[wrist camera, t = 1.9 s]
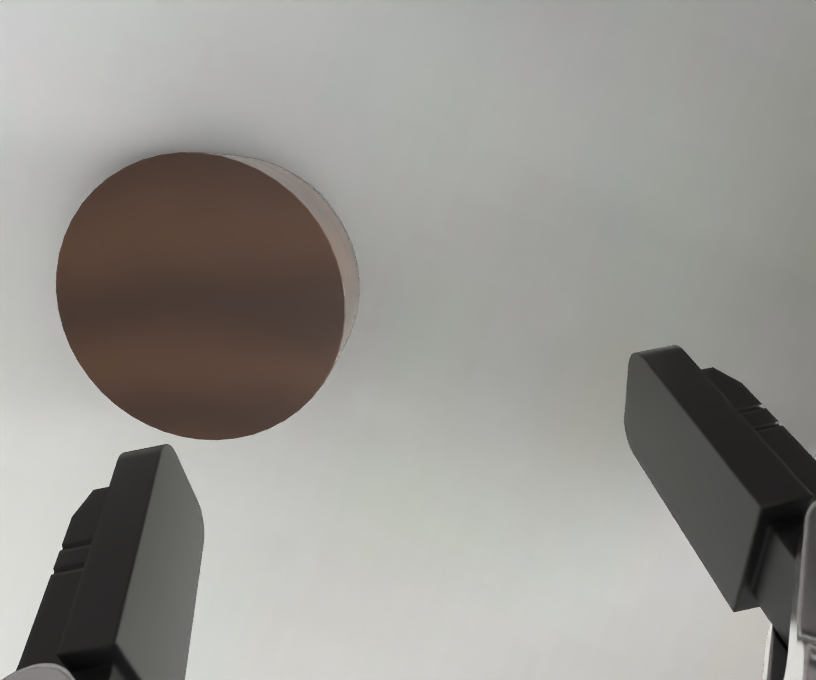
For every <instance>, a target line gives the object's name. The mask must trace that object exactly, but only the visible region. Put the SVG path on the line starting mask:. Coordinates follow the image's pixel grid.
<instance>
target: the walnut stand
mask: <svg viewBox="0 0 816 680" xmlns="http://www.w3.org/2000/svg"><path fill="white" fill-rule="evenodd" d="M56 293H57V302H58V310H59V314H60V318H61V322H62V326H63V329H64V332H65V335H66V337H67V340H68V342H69V345H70V347H71V349H72V351H73V353H74V355H75V356H76V358H77V360H78V362H79V364H80V365H81V367H82V368H83V369H84V371H85V372H86V374H87V375H88V377H89V378H90V379H91V380H92V382H93V383H94V384H95V385H96V386H97V387H98V388H99V389H100V391H101V392H102V393H103V394H104V395H106V396H107V397H108V398H109V399H110V400H111V401H112V402H113V403H114V404H116V405H117V406H118V407H120V408H121V409H122V410H124V411H125V412H127V413H128V414H129V415H131V416H133V417H134V418H136V419H138V420H140V421H142V422H143V423H145V424H147V425H149V426H152V427H154V428H157V429H159V430H161V431H164V432H167V433H171V434H174V435H178V436H182V437H188V438H194V439H203V440H223V439H234V438H239V437H244V436H248V435H253V434H256V433H258V432H261V431H264V430H267V429H269V428H271V427H273V426H275V425H277V424H279V423H281V422H283V421H285V420H286V419H287V418H289V417H290V416H292V415H293V414H294V413H296V412H297V411H299V410H300V409H301V408H302V407H303V406H304V405H305V404H306V403H307V402H308V401H309V400H310V399H311V398H312V397H313V396H314V395H315V394H316V392H317V391H318V390H319V389H320V387H321V386H322V385H323V383H324V382H325V380H326V378H327V376H328V375H329V373H330V371H331V370H332V368H333V366H334V364H335V362H336V360H337V358H338V357H339V355H340V353H341V351H342V349H343V347H344V345H345V343H346V341H347V339H348V337H349V334H350V332H351V330H352V327H353V324H354V321H355V317H356V313H357V308H358V301H359V274H358V267H357V261H356V257H355V254H354V250H353V246H352V244H351V242H350V239H349V237H348V234H347V232H346V230H345V228H344V226H343V225H342V223H341V221H340V219H339V218H338V216H337V215H336V213H335V212H334V211H333V209H332V208H331V207H330V205H329V204H328V203H327V202H326V201H325V200H324V199H323V198H322V197H321V195H320V194H319V193H318V192H317V191H316V190H314V189H313V188H312V187H311V186H309V185H308V184H307V183H306V182H304V181H303V180H302V179H300V178H299V177H297V176H295V175H294V174H292V173H291V172H289V171H287V170H285V169H283V168H281V167H278V166H276V165H274V164H272V163H268V162H265V161H261V160H258V159H255V158H248V157H242V156H233V155H222V154H211V153H195V152H179V153H171V154H163V155H158V156H154V157H151V158H147V159H143V160H141V161H138V162H136V163H134V164H132V165H129V166H127V167H125V168H123V169H122V170H120V171H118V172H117V173H115V174H113V175H112V176H110V177H109V178H108V179H106V180H105V181H104V182H103V183H102V184H100V185H99V186H98V187H97V188H96V189H95V190H94V191H93V192H92V193H91V194H90V195H89V196H88V198H87V199H86V200H85V201H84V202H83V203H82V205H81V206H80V208H79V209H78V211H77V213H76V214H75V216H74V217H73V219H72V221H71V223H70V225H69V227H68V230H67V232H66V234H65V236H64V239H63V243H62V246H61V250H60V253H59V259H58V266H57V273H56Z"/></svg>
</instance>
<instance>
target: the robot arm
mask: <svg viewBox="0 0 816 680" xmlns="http://www.w3.org/2000/svg"><path fill="white" fill-rule="evenodd" d="M624 425H625V432H626V436H627V440H628V443H629V445H630V448H631V450H632V452H633V454H634V455H635V457H636V459H637V460H638V462H639V463H640V465H641V467H642V468H643V470H644V471H645V473H646V474H647V476H648V478H649V479H650V481H651V482H652V484H653V485H654V487H655V489H656V490H657V492H658V493H659V495H660V497H661V498H662V500H663V501H664V503H665V504H666V506H667V508H668V509H669V511H670V512H671V514H672V516H673V517H674V519H675V520H676V522H677V523H678V525H679V527H680V528H681V530H682V531H683V533H684V535H685V536H686V538H687V539H688V541H689V542H690V544H691V546H692V547H693V549H694V550H695V552H696V553H697V555H698V557H699V558H700V560H701V561H702V563H703V565H704V566H705V568H706V569H707V571H708V572H709V574H710V576H711V577H712V579H713V580H714V582H715V584H716V585H717V587H718V588H719V590H720V591H721V593H722V595H723V596H724V598H725V599H726V601H727V603H728V604H729V606H730V607H731V609H732V610H733V612H737V611H742V610H746V609H751V608H755V607H761V609H762V610H763V612H764V613H765V615H766V616H767V618H768V619H769V621H770V625H769V629H768V633H767V641H766V650H765V660H764V669H763V678H762V680H816V460H815V459H814V458H813V457H812V456H811V455H810V454H809V453H808V452H807V451H806V450H805V449H804V448H803V447H802V445H801V444H800V443H799V442H798V441H797V440H796V439H795V438H794V437H793V436H792V435H791V434H790V433H789V432H788V431H787V430H786V429H785V428H784V427H783V426H779V424H778V420H777V419H776V418H775V417H774V416H773V415H772V414H771V413H770V412H769V411H768V410H767V409H766V408H764V409H763V408H762V404H761V403H760V402H759V401H758V399H757V398H756V397H755V396H754V395H753V394H752V393H751V392H750V391H749V390H748V389H747V388H746V387H745V386H744V385H743V384H742V383H741V382H739V381H737V380H735V379H733V378H732V377H730V376H728V375H726V374H724V373H722V372H721V371H719V370H717V369H715V368H713V367H712V368H707V369H702V370H701V369H700V368H699V367H698V366H697V364H696V363H695V362H694V361H693V360H692V359H691V358H690V357H689V356H688V354H687V353H686V352H685V351H684V350H683V349H682V348H681V347H679V346H677V345H672V346H667V347H662V348H657V349H652V350H646V351H641V352H636V353H633V354H632V355H631V357H630V359H629V365H628V377H627V390H626V402H625V415H624ZM203 544H204V523H203V517H202V512H201V508H200V505H199V503H198V501H197V498H196V496H195V494H194V492H193V490H192V487H191V485H190V483H189V481H188V479H187V476H186V474H185V472H184V470H183V468H182V466H181V463H180V461H179V459H178V457H177V455H176V453H175V451H174V449H173V448H172V446H171V445H169V444H164V445H159V446H154V447H149V448H144V449H139V450H134V451H129V452H124V453H122V454H121V455H120V456H119V458H118V460H117V463H116V467H115V470H114V473H113V476H112V479H111V482H110V486H109V487H106V488H101V489H96V490H93V491H92V493H91V494H90V495H89V496H88V498H87V499H86V500H85V501H84V503H83V504H82V505H81V506H80V508H79V509H78V510H77V511H76V513H75V514H74V515H73V516H72V519H71V521H70V524H69V527H68V530H67V532H66V535H65V538H64V541H63V543H62V547H63V550H61V551H60V552H59V554H58V557H57V560H56V563H55V566H54V568H53V569H54V574H52V575H51V577H50V579H49V582H48V585H47V588H46V590H45V593H44V596H43V599H42V602H41V604H40V607H39V610H38V613H37V615H36V618H35V621H34V624H33V626H32V629H31V632H30V635H29V637H28V640H27V643H26V646H25V649H24V651H23V654H22V657H21V660H20V662H19V665H18V667H17V669H16V672H14V673H12V674H10V675H8V676H7V677H5V678H4V679H2V680H185V674H186V667H187V659H188V652H189V645H190V638H191V630H192V623H193V616H194V609H195V602H196V594H197V587H198V580H199V573H200V565H201V558H202V551H203Z"/></svg>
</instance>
